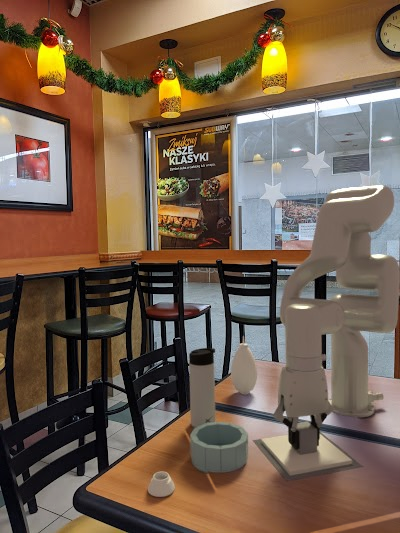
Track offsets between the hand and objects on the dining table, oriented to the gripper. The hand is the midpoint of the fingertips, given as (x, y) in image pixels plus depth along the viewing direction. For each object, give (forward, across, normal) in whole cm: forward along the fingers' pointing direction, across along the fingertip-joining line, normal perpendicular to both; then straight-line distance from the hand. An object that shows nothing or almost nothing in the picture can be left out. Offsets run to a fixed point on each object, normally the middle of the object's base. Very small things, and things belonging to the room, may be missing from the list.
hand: (304, 444), depth 89 cm
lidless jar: (+3, +32, +3) cm, 32 cm away
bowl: (+2, +18, -4) cm, 19 cm away
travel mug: (+3, +17, -20) cm, 26 cm away
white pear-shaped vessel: (+3, -1, -38) cm, 38 cm away
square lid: (+2, 0, 0) cm, 2 cm away
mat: (+2, 0, 0) cm, 2 cm away
